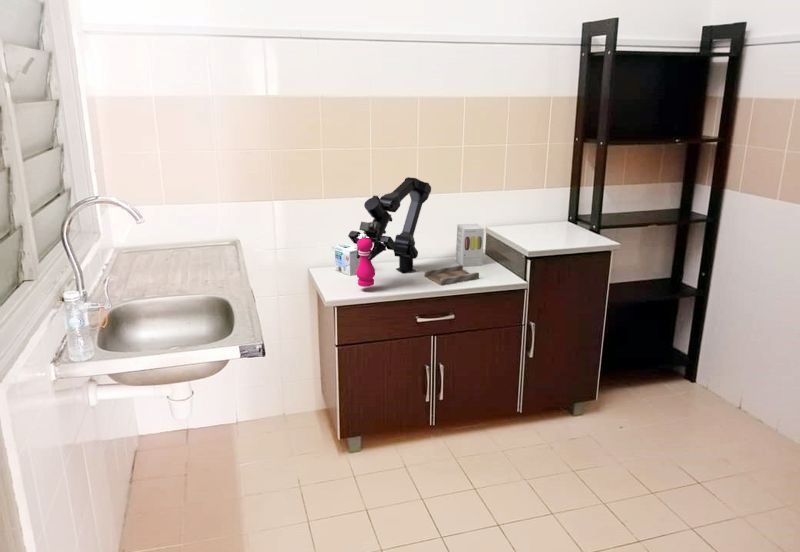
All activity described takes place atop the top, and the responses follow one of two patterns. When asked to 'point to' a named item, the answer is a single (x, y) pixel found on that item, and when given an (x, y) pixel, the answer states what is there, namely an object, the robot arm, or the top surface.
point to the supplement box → (469, 244)
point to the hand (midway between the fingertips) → (363, 259)
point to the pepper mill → (365, 262)
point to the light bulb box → (346, 259)
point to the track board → (450, 275)
